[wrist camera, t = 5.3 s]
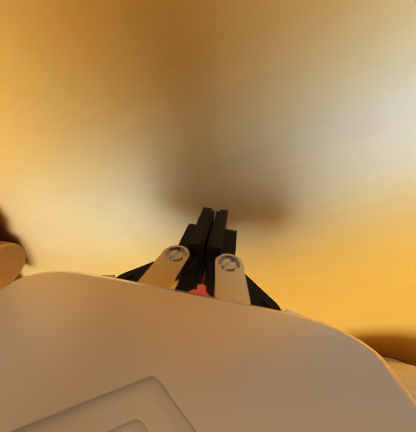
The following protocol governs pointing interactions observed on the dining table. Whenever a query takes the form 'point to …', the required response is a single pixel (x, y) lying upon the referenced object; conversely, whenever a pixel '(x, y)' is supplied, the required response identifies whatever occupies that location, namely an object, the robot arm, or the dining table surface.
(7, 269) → the kendama
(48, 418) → the robot arm
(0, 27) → the dining table surface
